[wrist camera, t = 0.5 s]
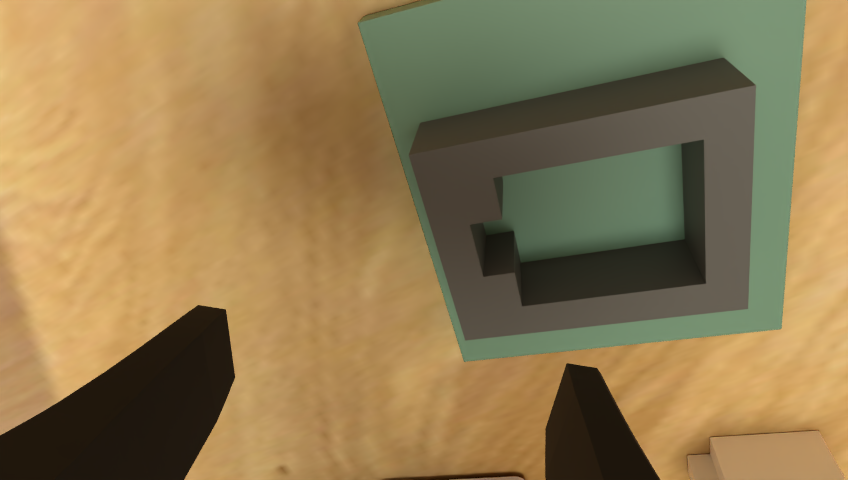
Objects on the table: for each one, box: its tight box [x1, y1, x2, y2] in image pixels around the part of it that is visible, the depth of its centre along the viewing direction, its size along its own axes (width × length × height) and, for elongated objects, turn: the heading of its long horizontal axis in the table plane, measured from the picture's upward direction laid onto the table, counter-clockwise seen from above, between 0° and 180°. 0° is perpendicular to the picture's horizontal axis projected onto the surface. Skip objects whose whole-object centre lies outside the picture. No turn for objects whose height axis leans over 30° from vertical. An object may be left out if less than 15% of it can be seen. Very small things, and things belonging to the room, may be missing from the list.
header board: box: [358, 0, 806, 362], centre depth 18 cm, size 14×12×4 cm
